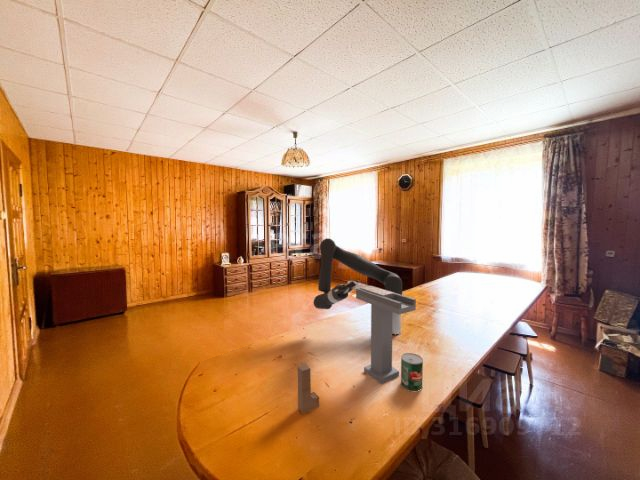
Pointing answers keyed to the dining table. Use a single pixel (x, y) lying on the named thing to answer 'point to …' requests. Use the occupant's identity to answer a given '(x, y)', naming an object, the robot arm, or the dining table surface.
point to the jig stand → (383, 331)
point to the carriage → (373, 290)
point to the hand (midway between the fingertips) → (356, 282)
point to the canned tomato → (411, 371)
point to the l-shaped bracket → (306, 390)
